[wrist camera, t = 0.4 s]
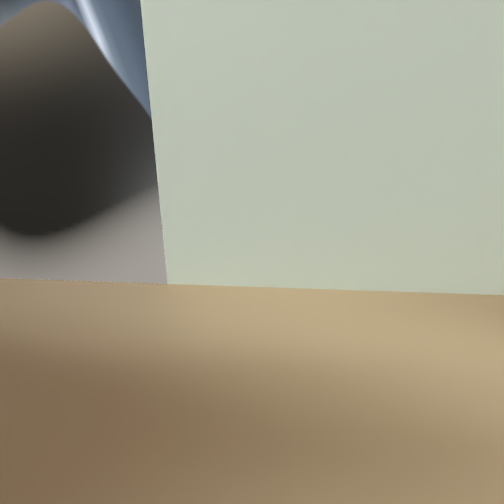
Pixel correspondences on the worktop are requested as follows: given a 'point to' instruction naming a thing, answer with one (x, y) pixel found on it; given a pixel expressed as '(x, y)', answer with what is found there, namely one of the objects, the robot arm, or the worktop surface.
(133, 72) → the worktop surface
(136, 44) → the worktop surface
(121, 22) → the worktop surface
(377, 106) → the tall pale green block
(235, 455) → the t-shaped wooden block
